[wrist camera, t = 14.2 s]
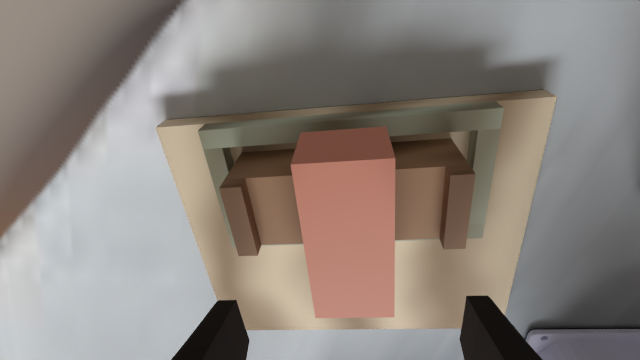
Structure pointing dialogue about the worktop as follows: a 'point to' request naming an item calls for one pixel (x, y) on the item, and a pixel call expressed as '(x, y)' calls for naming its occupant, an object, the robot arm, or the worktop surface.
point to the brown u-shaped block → (410, 196)
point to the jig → (410, 255)
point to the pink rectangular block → (347, 220)
